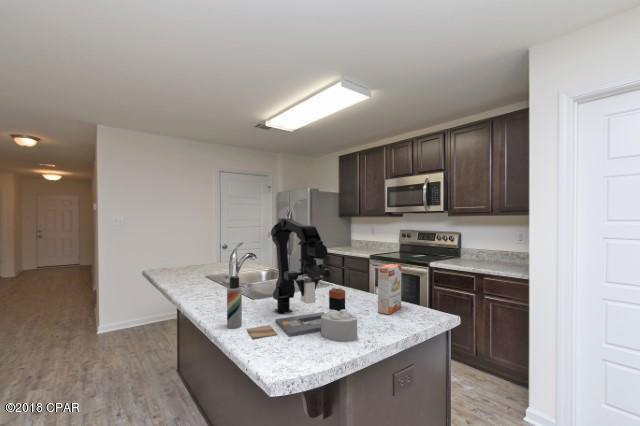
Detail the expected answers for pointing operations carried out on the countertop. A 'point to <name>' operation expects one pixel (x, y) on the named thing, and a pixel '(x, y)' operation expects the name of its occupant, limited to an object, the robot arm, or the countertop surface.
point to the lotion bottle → (234, 303)
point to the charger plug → (308, 291)
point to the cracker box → (389, 288)
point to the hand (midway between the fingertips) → (307, 295)
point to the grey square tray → (299, 324)
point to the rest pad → (261, 332)
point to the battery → (336, 299)
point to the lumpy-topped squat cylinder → (339, 326)
